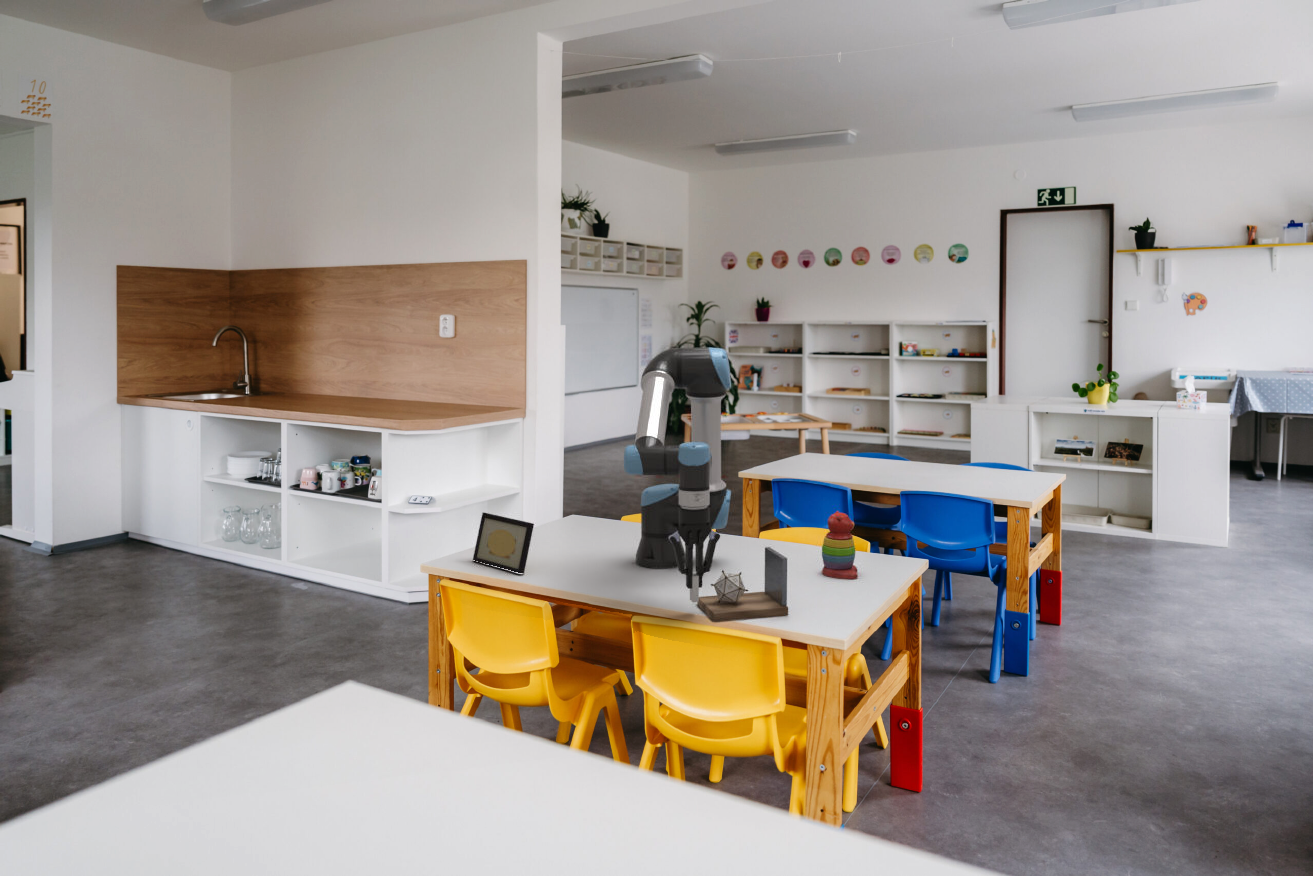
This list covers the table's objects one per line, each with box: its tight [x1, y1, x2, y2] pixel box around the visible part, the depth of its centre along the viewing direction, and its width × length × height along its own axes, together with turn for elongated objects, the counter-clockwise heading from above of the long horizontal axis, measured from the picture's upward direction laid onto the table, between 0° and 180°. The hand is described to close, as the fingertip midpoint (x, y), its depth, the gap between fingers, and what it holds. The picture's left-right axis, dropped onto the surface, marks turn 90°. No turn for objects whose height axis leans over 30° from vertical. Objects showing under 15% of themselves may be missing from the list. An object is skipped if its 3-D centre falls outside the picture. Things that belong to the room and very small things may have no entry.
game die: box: [709, 569, 749, 605], centre depth 224 cm, size 9×8×10 cm
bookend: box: [764, 546, 788, 607], centre depth 226 cm, size 12×1×12 cm, turn 14°
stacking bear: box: [821, 510, 859, 580], centre depth 256 cm, size 11×10×18 cm
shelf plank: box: [696, 591, 789, 623], centre depth 225 cm, size 14×19×2 cm
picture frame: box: [472, 512, 535, 574], centre depth 268 cm, size 23×9×15 cm, turn 47°
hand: (694, 600), depth 222 cm, fingers closed
